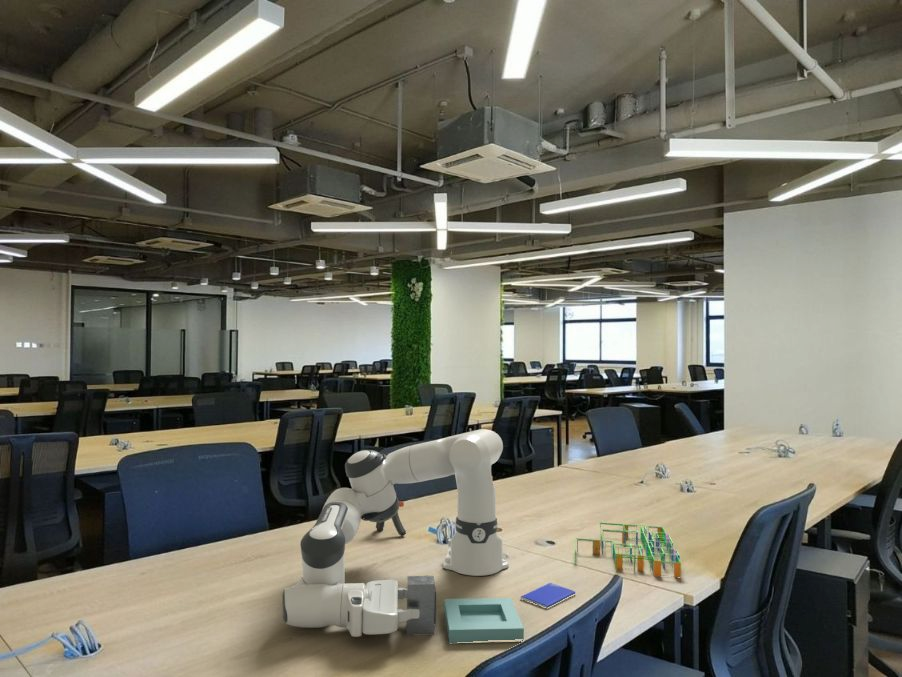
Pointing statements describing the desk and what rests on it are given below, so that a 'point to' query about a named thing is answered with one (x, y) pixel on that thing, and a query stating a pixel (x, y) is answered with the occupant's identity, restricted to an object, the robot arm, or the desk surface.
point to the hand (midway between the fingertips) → (418, 603)
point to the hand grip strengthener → (396, 522)
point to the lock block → (421, 604)
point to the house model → (650, 552)
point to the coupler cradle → (482, 620)
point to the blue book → (548, 595)
